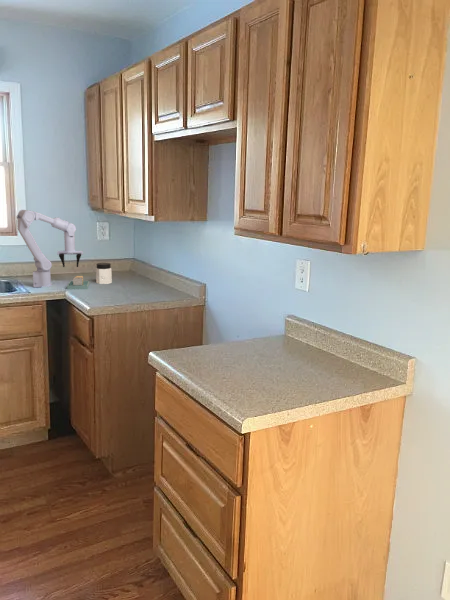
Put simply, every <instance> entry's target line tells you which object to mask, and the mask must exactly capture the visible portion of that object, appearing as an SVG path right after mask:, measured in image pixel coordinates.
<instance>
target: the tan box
mask: <svg viewBox="0 0 450 600" xmlns="http://www.w3.org/2000/svg"><path fill="white" fill-rule="evenodd" d="M80 277H82V285H83V281H84V275H76V276H75V277H74V278H80Z"/></svg>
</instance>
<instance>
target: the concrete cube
mask: <svg viewBox="0 0 450 600" xmlns="http://www.w3.org/2000/svg"><path fill="white" fill-rule="evenodd" d="M72 281H73V286H83V285H82V277H80V278H75V277H73V278H72Z"/></svg>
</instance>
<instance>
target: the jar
mask: <svg viewBox="0 0 450 600" xmlns="http://www.w3.org/2000/svg"><path fill="white" fill-rule="evenodd" d="M111 265H112V263H110V262H98V263H96V267H95V279H96V284H99V285H109V284H112V282H113V279H112V277H113V275H112V274H113V272H112V267H111Z"/></svg>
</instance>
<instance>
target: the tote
mask: <svg viewBox="0 0 450 600" xmlns="http://www.w3.org/2000/svg"><path fill="white" fill-rule="evenodd" d="M90 284H91V282H90V280H83V286H73V280H69V281H68V284H67V285H66V289H67V290H88V289H89V286H90Z"/></svg>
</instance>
